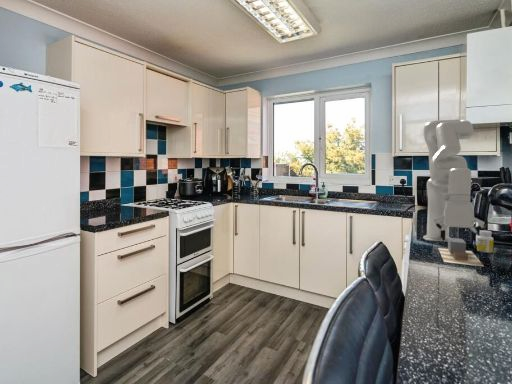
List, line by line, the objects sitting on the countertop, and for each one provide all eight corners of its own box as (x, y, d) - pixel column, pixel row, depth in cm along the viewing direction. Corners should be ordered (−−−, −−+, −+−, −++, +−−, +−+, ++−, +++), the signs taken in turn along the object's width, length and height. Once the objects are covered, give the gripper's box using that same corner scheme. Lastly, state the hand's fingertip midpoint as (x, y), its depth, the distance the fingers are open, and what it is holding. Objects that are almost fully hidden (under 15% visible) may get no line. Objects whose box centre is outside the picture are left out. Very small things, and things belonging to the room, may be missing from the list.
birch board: (437, 251, 131) (438, 247, 131) (471, 254, 125) (471, 251, 125) (443, 265, 111) (444, 261, 111) (484, 270, 106) (484, 266, 106)
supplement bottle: (489, 253, 128) (490, 230, 127) (495, 256, 123) (496, 232, 122) (474, 252, 129) (475, 229, 129) (479, 255, 124) (480, 232, 124)
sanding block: (447, 249, 128) (448, 237, 128) (461, 250, 126) (462, 238, 126) (450, 254, 121) (450, 241, 121) (465, 255, 119) (466, 243, 118)
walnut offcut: (453, 256, 117) (453, 251, 117) (465, 258, 115) (465, 253, 115) (454, 259, 114) (455, 254, 113) (467, 261, 112) (468, 255, 112)
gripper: (434, 198, 122) (433, 240, 123) (487, 200, 115) (485, 245, 115) (433, 197, 129) (432, 237, 130) (483, 199, 121) (481, 241, 122)
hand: (457, 241), depth 122 cm, fingers open, 9 cm apart
